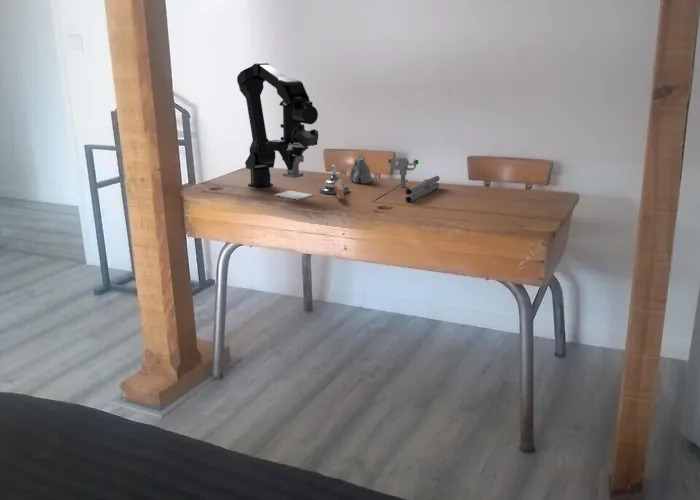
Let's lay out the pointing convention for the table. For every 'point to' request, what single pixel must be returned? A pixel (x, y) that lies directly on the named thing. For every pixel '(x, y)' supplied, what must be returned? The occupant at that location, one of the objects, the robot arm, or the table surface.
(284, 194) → the mat
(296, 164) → the grey stepped block
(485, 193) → the table surface
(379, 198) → the table surface
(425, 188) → the metal rod assembly
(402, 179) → the mechanical component
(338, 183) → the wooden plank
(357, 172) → the mineral rock
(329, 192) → the chuck base
